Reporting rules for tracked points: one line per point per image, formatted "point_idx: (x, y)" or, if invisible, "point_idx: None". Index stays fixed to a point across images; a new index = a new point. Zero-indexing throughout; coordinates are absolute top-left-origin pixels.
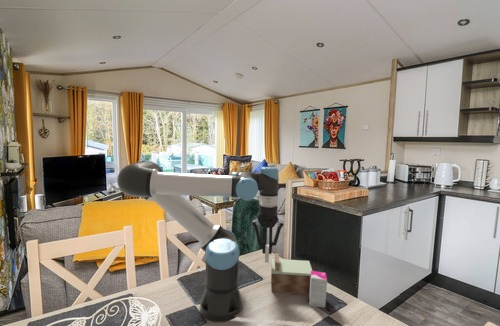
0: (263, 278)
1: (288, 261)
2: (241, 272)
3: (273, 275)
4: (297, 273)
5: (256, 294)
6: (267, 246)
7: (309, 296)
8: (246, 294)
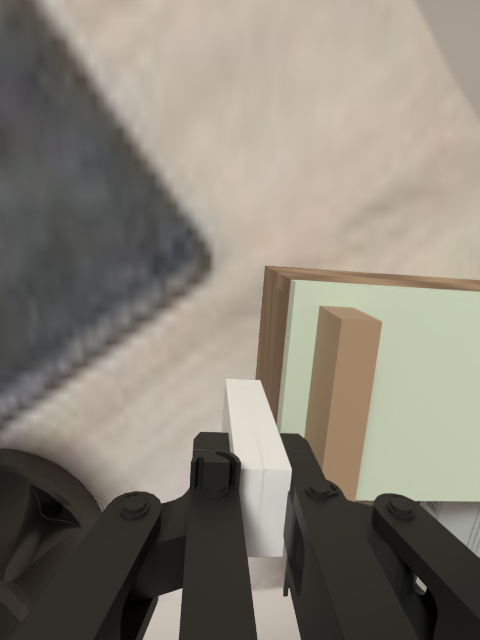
0: (215, 260)
1: (438, 327)
2: (56, 186)
3: None
4: (455, 498)
5: (172, 426)
6: (261, 538)
7: (445, 506)
8: (117, 431)
